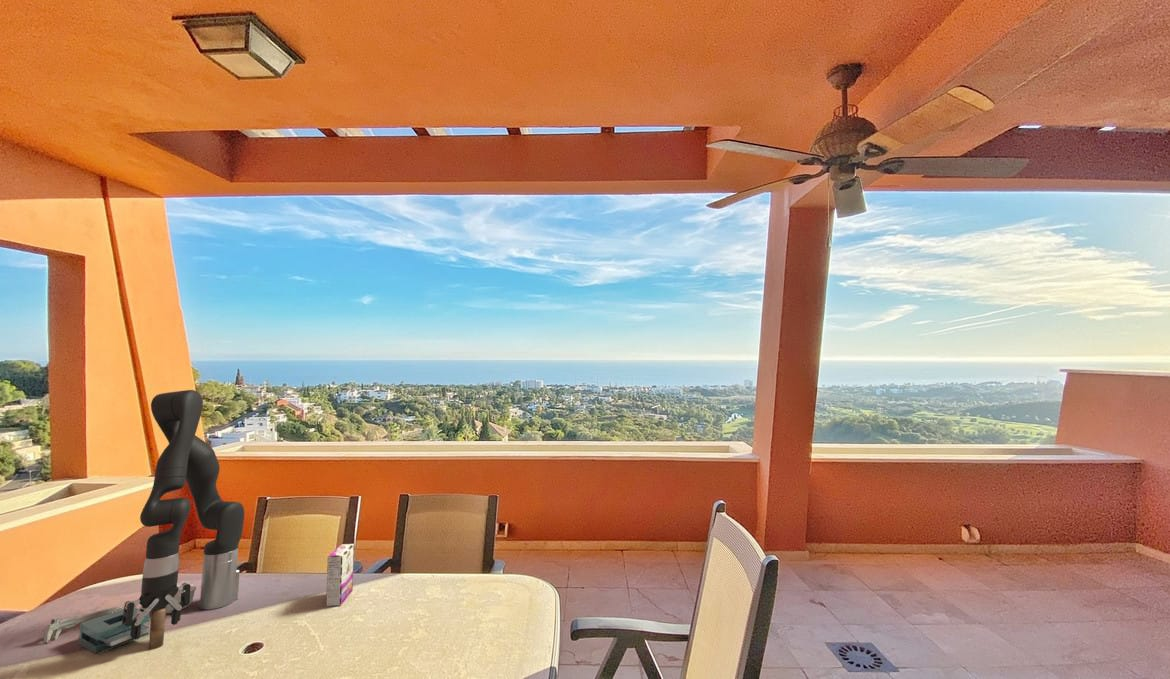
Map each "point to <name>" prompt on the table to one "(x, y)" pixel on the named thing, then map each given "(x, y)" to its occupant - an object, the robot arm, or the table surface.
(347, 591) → the candy bar box
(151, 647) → the pin
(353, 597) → the table surface
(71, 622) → the caliper
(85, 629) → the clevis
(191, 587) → the ramekin
